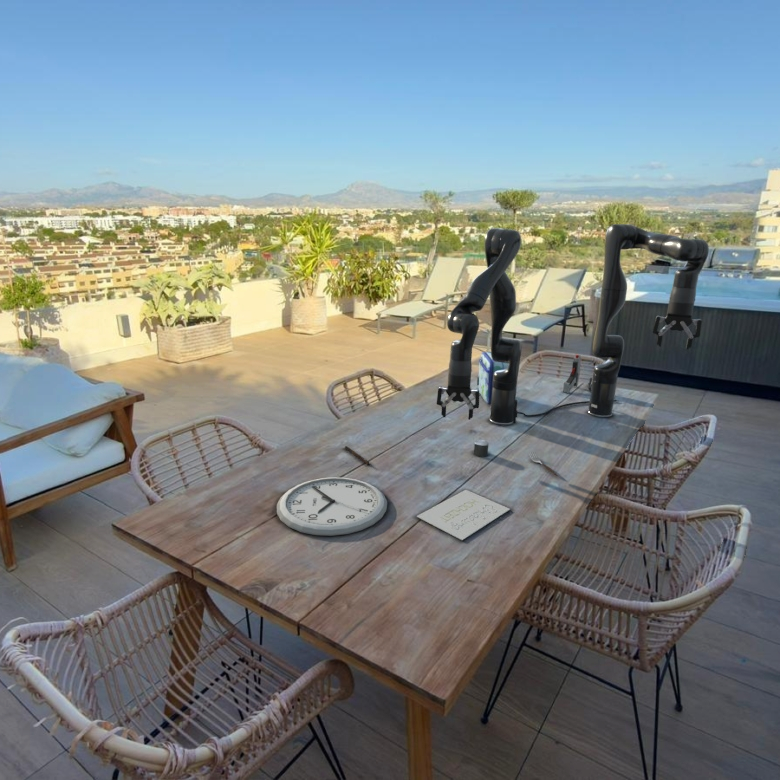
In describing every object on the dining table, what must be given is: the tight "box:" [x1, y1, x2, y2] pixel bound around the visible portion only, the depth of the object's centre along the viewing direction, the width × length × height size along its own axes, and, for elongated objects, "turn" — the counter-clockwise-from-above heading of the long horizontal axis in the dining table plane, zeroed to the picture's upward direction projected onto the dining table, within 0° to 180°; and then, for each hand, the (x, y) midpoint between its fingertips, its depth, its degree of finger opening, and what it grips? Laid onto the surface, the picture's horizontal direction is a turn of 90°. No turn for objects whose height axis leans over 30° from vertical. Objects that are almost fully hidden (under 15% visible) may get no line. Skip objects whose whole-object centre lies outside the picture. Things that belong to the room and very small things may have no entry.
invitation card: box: [416, 489, 511, 541], centre depth 140 cm, size 21×1×15 cm
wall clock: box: [276, 476, 388, 537], centre depth 142 cm, size 30×2×30 cm
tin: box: [473, 439, 490, 458], centre depth 176 cm, size 5×5×4 cm
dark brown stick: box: [344, 445, 370, 465], centre depth 173 cm, size 15×1×1 cm, turn 34°
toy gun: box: [562, 354, 582, 394], centre depth 247 cm, size 2×16×15 cm
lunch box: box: [476, 351, 509, 406], centre depth 230 cm, size 26×11×21 cm, turn 179°
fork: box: [528, 451, 559, 477], centre depth 167 cm, size 3×16×2 cm, turn 15°
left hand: (456, 417), depth 179 cm, fingers open, 8 cm apart
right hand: (673, 347), depth 181 cm, fingers open, 8 cm apart
